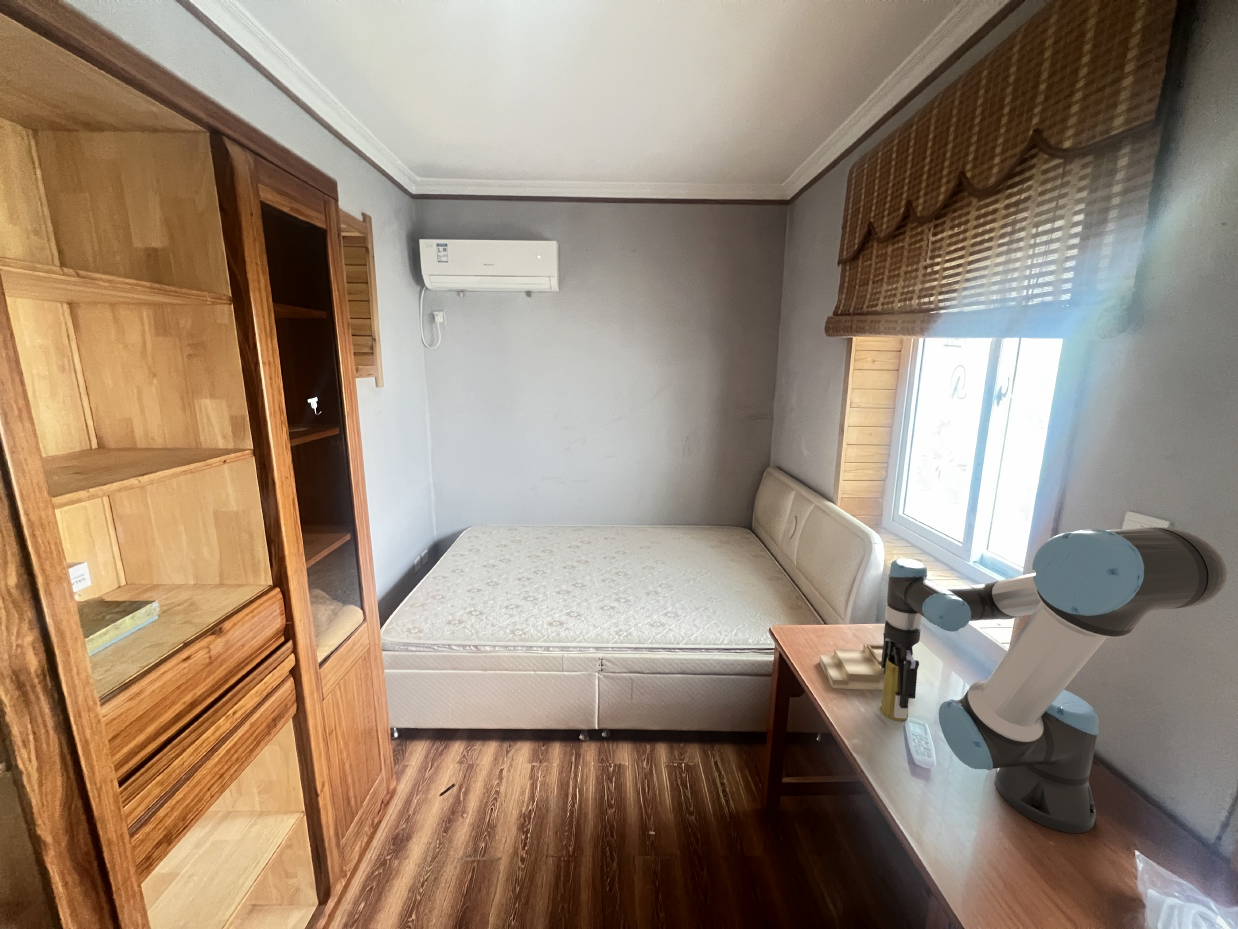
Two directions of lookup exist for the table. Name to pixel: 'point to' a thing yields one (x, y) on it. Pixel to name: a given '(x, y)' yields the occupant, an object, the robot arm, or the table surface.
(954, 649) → the table surface
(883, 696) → the vase
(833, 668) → the step stand
